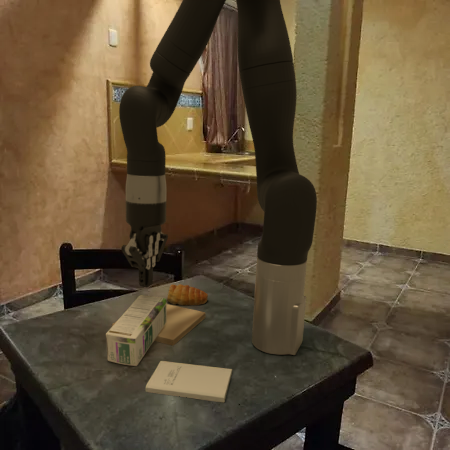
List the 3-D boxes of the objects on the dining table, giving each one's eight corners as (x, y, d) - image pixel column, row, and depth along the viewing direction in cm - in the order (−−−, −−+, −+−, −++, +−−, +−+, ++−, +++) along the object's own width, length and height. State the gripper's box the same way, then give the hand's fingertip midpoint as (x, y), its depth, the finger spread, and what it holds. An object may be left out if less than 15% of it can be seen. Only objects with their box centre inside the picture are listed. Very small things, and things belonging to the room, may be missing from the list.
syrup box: (167, 322, 88) (138, 367, 74) (139, 318, 89) (106, 362, 75) (166, 297, 86) (136, 339, 72) (138, 293, 87) (104, 334, 73)
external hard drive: (224, 406, 66) (145, 395, 68) (232, 376, 74) (161, 367, 76) (224, 396, 66) (145, 385, 67) (232, 368, 73) (161, 358, 75)
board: (205, 317, 95) (205, 312, 94) (173, 345, 82) (173, 339, 82) (150, 305, 100) (150, 300, 100) (111, 329, 87) (111, 324, 87)
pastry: (209, 297, 106) (209, 282, 106) (205, 309, 100) (206, 293, 99) (171, 294, 107) (171, 280, 106) (165, 306, 101) (165, 290, 100)
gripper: (143, 205, 74) (143, 300, 78) (180, 195, 86) (179, 278, 90) (107, 201, 77) (108, 293, 81) (148, 192, 89) (148, 272, 93)
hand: (145, 285), depth 86 cm, fingers closed
